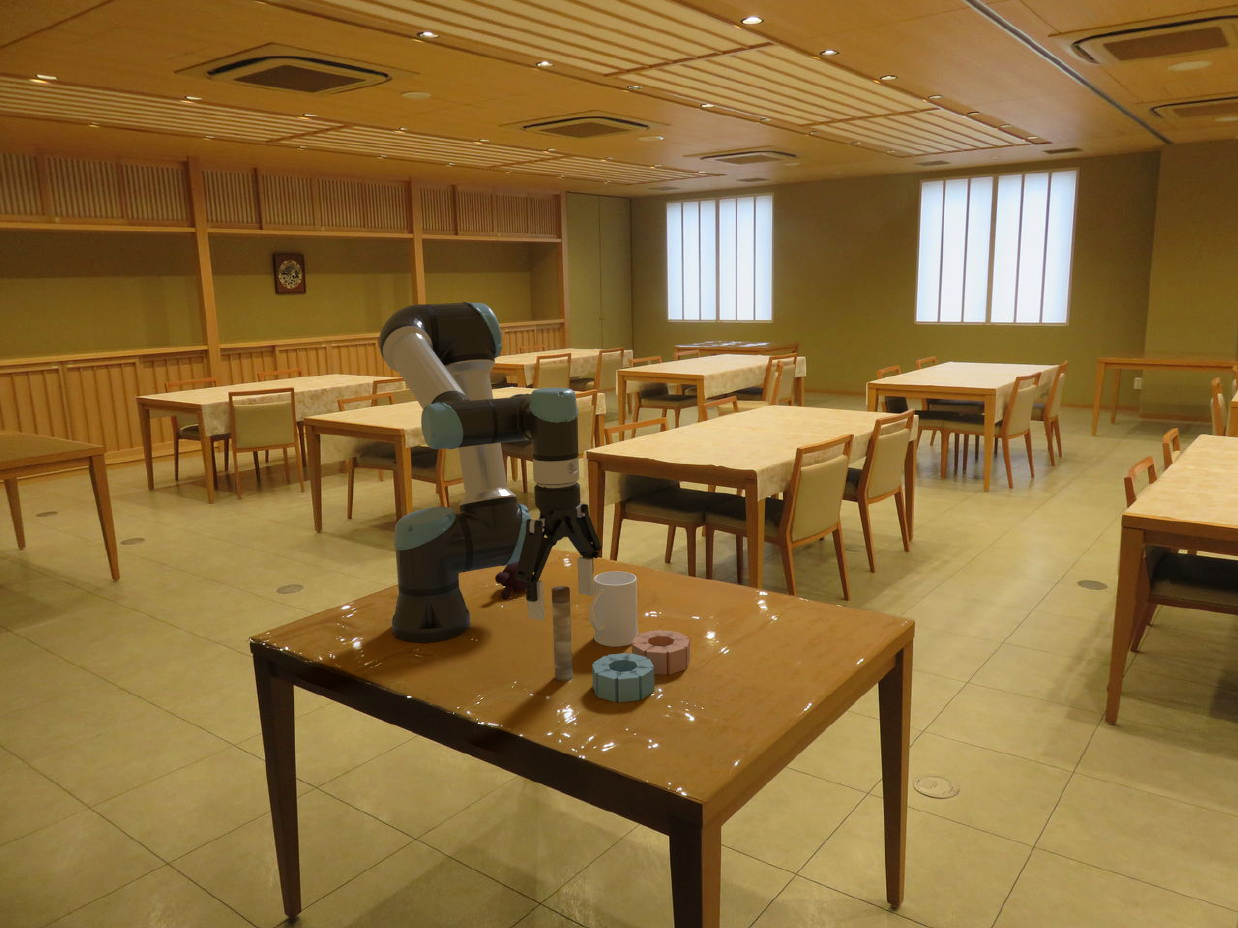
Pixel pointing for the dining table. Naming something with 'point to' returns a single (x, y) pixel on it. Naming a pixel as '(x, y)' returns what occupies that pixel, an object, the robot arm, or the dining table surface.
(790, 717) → the dining table surface
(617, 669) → the bead
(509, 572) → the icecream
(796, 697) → the dining table surface
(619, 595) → the mug
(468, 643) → the dining table surface
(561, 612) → the wooden dowel handle
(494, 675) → the dining table surface
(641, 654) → the bead terracotta
